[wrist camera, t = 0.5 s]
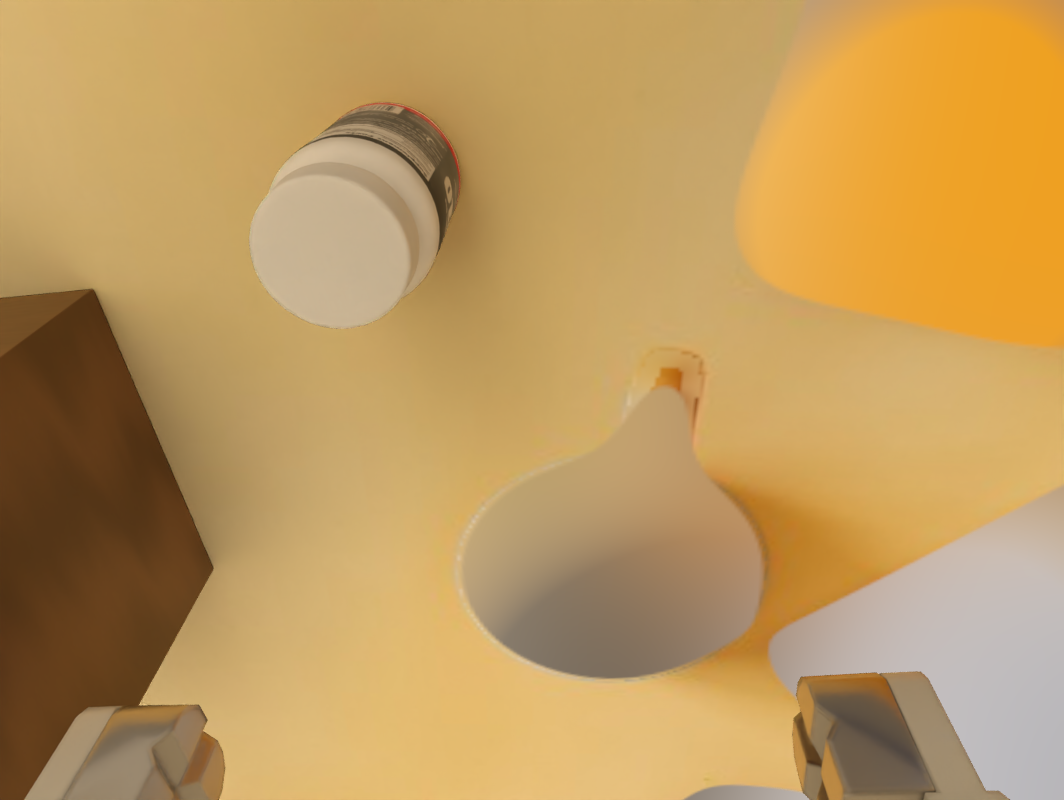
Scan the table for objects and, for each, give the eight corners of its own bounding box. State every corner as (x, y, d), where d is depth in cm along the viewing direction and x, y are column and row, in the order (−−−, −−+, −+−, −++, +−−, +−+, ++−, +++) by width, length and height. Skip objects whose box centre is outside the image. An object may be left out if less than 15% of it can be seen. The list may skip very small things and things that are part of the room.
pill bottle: (423, 264, 28) (377, 376, 20) (301, 197, 27) (207, 290, 19) (487, 148, 26) (460, 228, 18) (357, 70, 24) (275, 121, 17)
